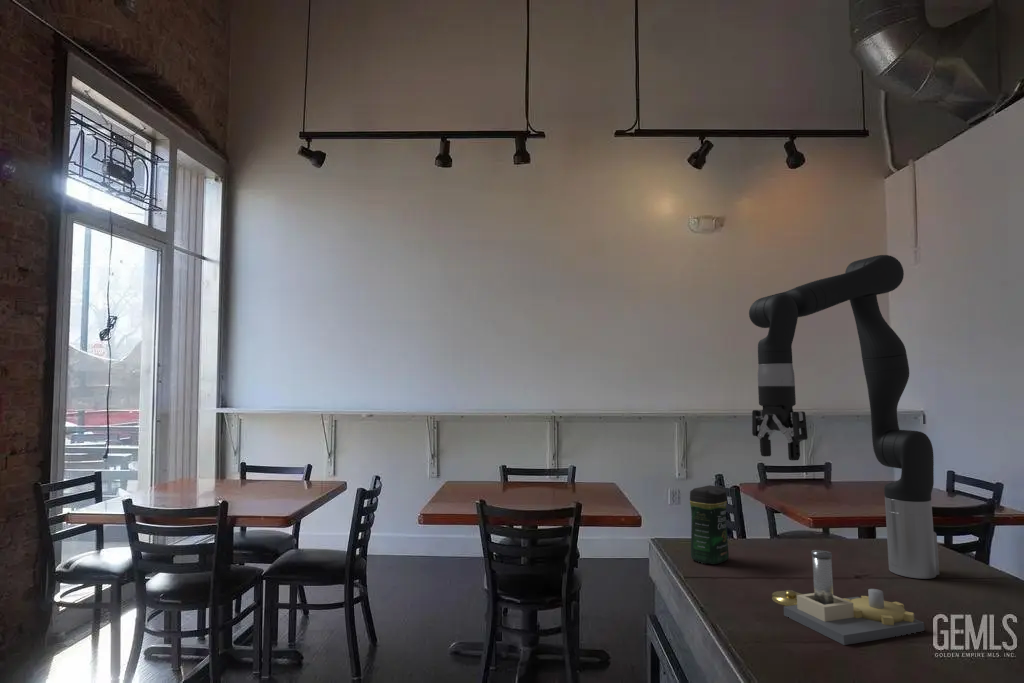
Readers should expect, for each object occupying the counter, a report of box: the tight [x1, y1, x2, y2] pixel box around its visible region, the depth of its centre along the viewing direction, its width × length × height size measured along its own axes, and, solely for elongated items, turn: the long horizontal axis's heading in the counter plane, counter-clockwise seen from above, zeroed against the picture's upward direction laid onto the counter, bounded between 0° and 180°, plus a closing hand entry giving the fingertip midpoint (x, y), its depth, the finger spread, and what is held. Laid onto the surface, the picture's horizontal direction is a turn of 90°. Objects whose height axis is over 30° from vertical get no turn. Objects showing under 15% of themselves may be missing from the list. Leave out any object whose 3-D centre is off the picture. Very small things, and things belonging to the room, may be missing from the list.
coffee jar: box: [689, 485, 730, 565], centre depth 151 cm, size 10×8×19 cm
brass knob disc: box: [771, 589, 803, 607], centre depth 121 cm, size 7×7×2 cm
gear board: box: [783, 588, 925, 646], centre depth 110 cm, size 20×14×6 cm
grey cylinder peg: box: [810, 549, 835, 605], centre depth 111 cm, size 3×3×11 cm
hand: (779, 458), depth 130 cm, fingers open, 8 cm apart
